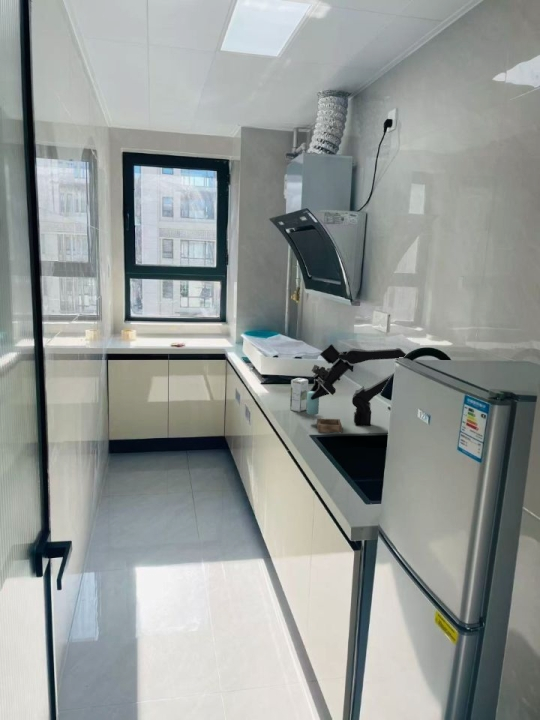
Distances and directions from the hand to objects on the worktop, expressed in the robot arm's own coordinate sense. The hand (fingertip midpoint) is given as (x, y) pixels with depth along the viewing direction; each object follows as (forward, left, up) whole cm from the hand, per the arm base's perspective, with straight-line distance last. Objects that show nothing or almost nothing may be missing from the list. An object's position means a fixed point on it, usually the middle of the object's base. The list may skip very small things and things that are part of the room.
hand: (309, 397), depth 235 cm
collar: (-8, +8, -11) cm, 16 cm away
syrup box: (+4, -21, -11) cm, 24 cm away
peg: (-1, 0, -7) cm, 7 cm away
